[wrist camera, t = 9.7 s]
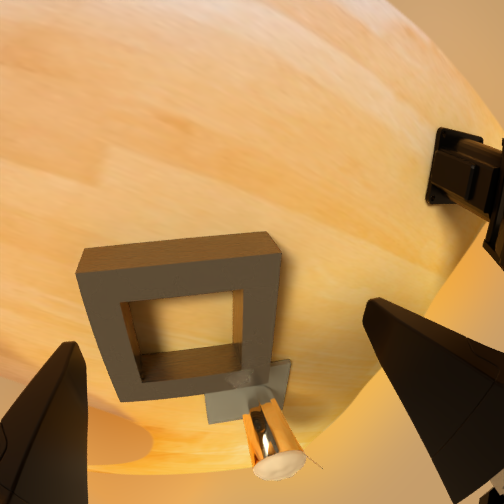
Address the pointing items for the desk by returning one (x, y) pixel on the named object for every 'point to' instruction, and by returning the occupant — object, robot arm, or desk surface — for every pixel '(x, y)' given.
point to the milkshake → (269, 436)
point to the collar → (175, 285)
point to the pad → (227, 402)
